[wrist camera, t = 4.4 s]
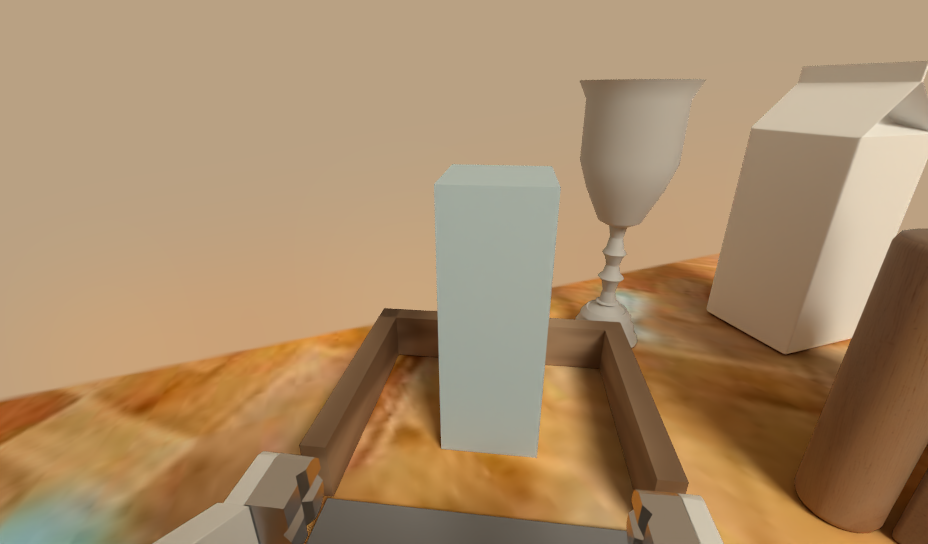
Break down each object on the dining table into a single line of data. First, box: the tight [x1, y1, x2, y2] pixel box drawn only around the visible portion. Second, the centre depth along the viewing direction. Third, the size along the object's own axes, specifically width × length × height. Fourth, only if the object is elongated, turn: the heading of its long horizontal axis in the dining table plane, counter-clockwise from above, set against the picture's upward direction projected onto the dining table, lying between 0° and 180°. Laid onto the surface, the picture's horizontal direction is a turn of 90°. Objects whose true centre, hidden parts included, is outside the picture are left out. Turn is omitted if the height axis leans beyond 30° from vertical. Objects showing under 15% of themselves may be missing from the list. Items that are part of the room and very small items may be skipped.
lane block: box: [434, 164, 561, 458], centre depth 22 cm, size 5×5×14 cm
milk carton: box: [707, 61, 928, 354], centre depth 31 cm, size 7×7×19 cm
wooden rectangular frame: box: [299, 308, 689, 496], centre depth 25 cm, size 16×13×3 cm
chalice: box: [575, 79, 705, 348], centre depth 30 cm, size 7×7×18 cm
